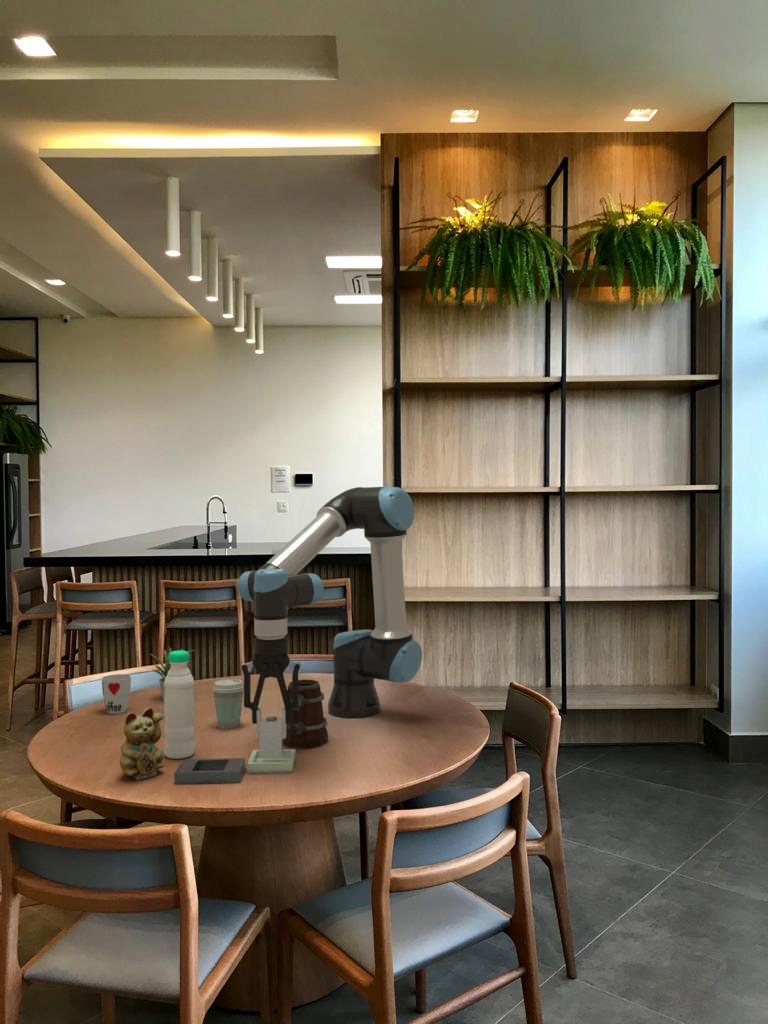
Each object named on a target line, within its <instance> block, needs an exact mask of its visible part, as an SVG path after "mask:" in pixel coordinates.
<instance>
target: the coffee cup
mask: <svg viewBox="0 0 768 1024" xmlns="http://www.w3.org/2000/svg"><path fill="white" fill-rule="evenodd" d="M212 691H213V698H214V706H215V715H216V721H217V728H219V729H222V730H233V729H236V728H239V727H240V726H241V718H242V708H243V699H244V681H243V680H242V679H238V678H225V679H219V680H216V681H214V683H213V686H212Z"/></svg>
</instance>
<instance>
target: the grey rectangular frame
mask: <svg viewBox="0 0 768 1024" xmlns="http://www.w3.org/2000/svg"><path fill="white" fill-rule="evenodd" d="M245 770H246V758H245V757H239V758H237V757H234V758H233V757H232V758H231V757H230V758H192V759H191V758H184V759H181V762H180V764H179V765H178V767H177V769H175V771H174V773H173V774H174V777H173V779H174V785H183V784H184V785H187V784H189V785H191V784H233V783H234V784H235V783H237V784H238V783H239V784H240V783H241V780H242V777H243V775H244V773H245Z"/></svg>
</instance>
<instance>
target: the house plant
mask: <svg viewBox="0 0 768 1024" xmlns="http://www.w3.org/2000/svg"><path fill="white" fill-rule="evenodd" d="M168 648H169V649H168ZM168 648H166V649H164V650H163V655H164V664H163V662H162V661H161V660H160V659H159V658H158V657H157V656H155V655H153V654H151V653H149V655H151V656H152V657H154V659H156V660H157V662H158V663H159V664H160V666H161V667H162V668H161V667H160V666H158V665H155V664H154V667H155V668H156V669H153V670H152V672H154V673H157V674H158V675H160V676H161V678H159V679H158V682H159V687H160V692H161V693H160V694H161V699H162V701H163V702H164V695H165V687H164V681H165V678H166V676H167V674H168V671H169V669H170V667H171V664H170V663H169V653H170V652H172V651H173V650H172V648H171V647H170V646H168ZM166 650H167V651H166ZM179 651H184V649H183V648H181V649H180V650H179ZM193 651H195V649H194V650H193V649H192V650H187V652H188V653H190V652H193ZM190 665H191V666H192V663H191V664H187V667H188V668H189V669H191V667H190Z"/></svg>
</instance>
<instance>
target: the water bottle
mask: <svg viewBox="0 0 768 1024" xmlns="http://www.w3.org/2000/svg"><path fill="white" fill-rule="evenodd" d="M168 654H169V663H170V664H171V667H170V669H169V671H168V674H167V676H166V678H165V677H164V678H165V681H164V687H165V695H164V701H163V705H164V706H163V708H164V709H163V710H164V711H163V712H164V713H163V714H164V715H163V716H164V724H165V727H164V740H165V742H164V757H166V758H168V759H172V760H183V759H189V758H190V757H192V756H193V755H194V754H195V752H196V743H195V734H196V733H195V691H194V685H195V680H194V676H193V675H192V673H191V670H190V668H189V666H188V667H187V665H188V663H189V662H190V652H188V650H187V651H186V650H182V651H180V650H172V652H170V651H169V652H168Z"/></svg>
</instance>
